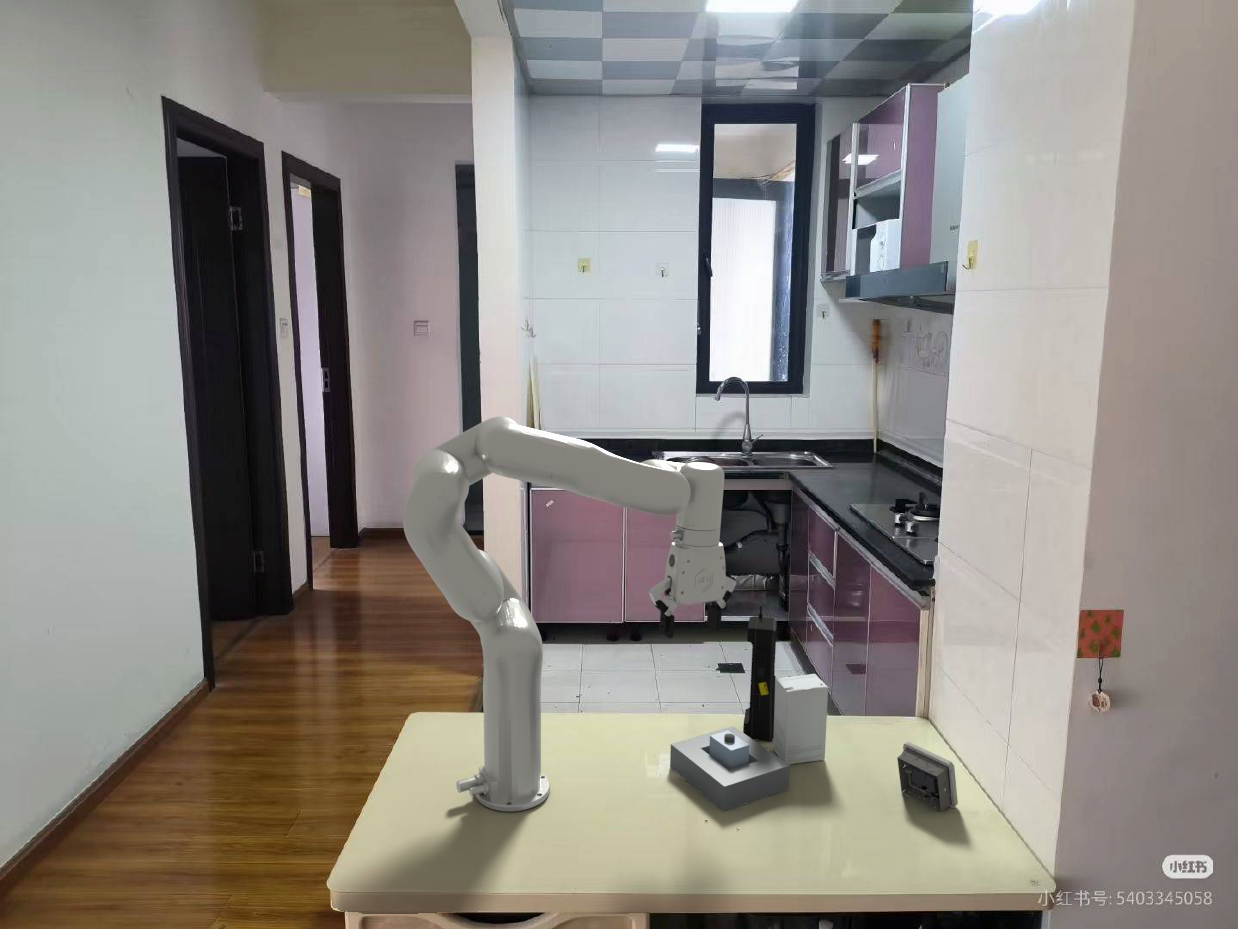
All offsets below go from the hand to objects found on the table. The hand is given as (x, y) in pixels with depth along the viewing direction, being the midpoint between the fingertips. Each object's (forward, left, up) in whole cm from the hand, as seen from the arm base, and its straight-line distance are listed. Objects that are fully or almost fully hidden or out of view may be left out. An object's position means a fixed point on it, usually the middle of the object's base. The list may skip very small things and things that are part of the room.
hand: (690, 631), depth 156 cm
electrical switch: (+30, -27, -27) cm, 49 cm away
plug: (+5, -5, -25) cm, 26 cm away
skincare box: (+21, -5, -27) cm, 35 cm away
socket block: (+5, -5, -26) cm, 27 cm away
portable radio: (+20, +5, -27) cm, 34 cm away
